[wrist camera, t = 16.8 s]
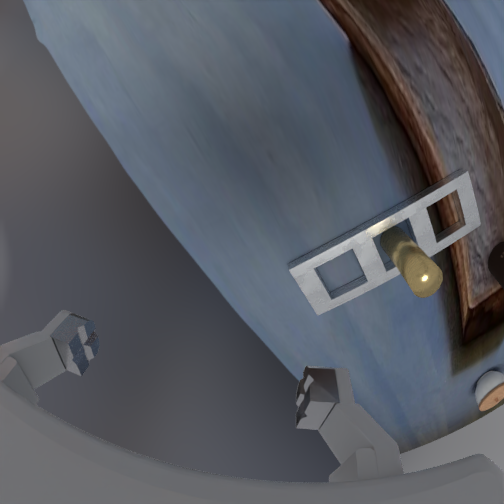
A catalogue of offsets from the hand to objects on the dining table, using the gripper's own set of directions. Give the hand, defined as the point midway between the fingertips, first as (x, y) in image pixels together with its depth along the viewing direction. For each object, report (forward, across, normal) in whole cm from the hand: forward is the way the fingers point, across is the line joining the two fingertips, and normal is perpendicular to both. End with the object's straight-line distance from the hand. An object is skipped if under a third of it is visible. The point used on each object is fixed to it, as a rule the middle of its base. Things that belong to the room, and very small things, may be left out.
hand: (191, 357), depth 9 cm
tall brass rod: (+29, -20, +4) cm, 36 cm away
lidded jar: (+29, -68, +36) cm, 82 cm away
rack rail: (+29, -20, +4) cm, 36 cm away
